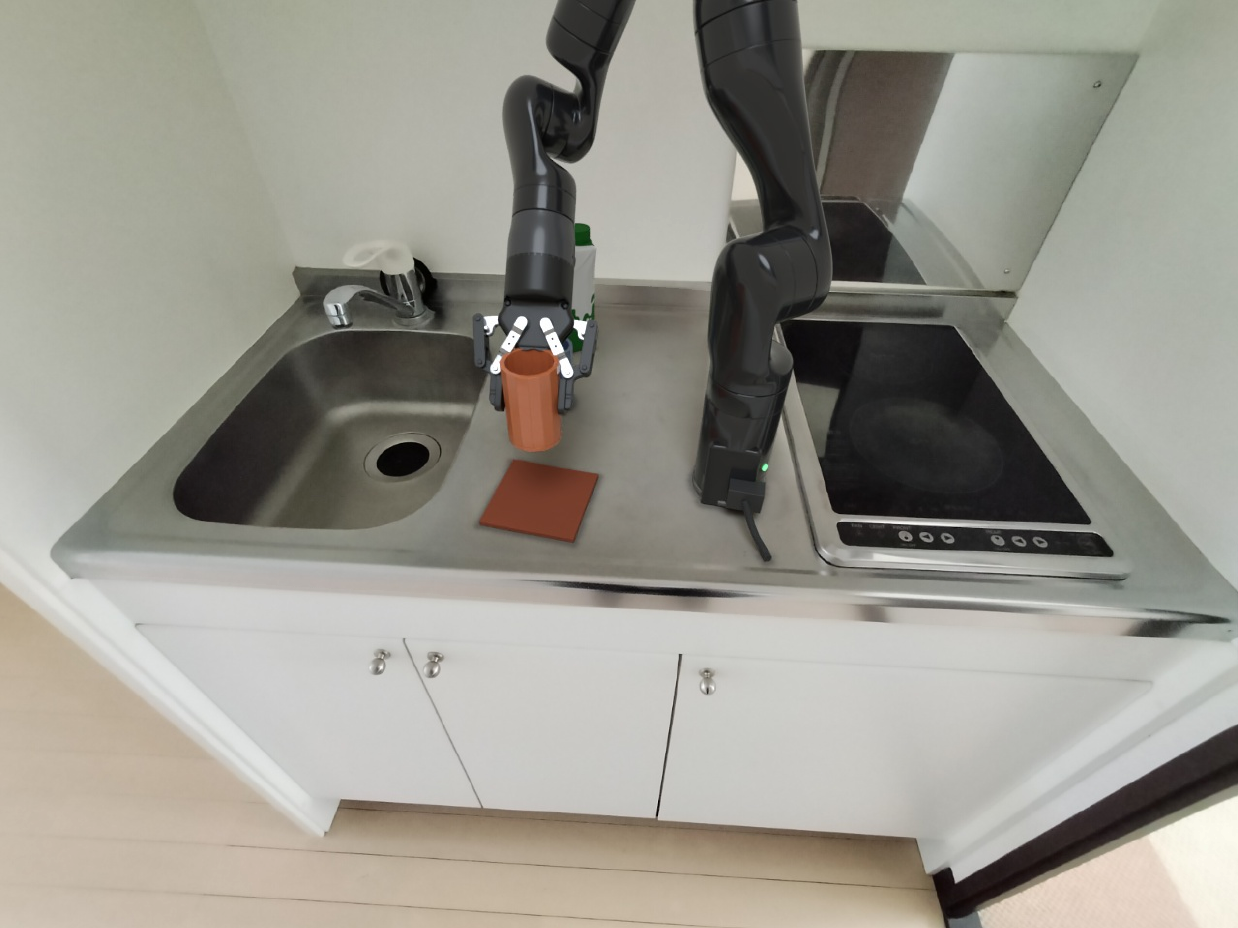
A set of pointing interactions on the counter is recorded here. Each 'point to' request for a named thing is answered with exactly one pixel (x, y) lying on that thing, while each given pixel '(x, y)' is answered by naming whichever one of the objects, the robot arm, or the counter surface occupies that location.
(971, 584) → the counter surface
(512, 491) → the clay mat
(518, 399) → the clay cup
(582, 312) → the milk carton
